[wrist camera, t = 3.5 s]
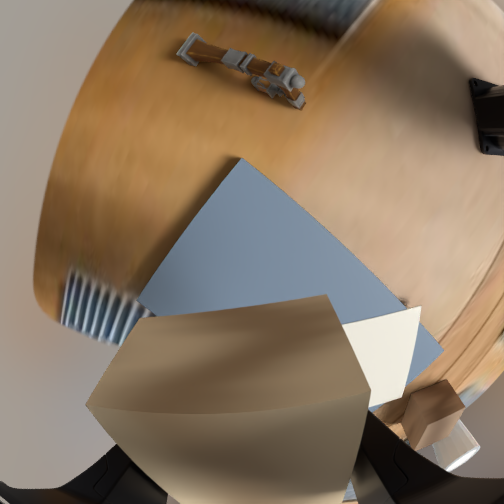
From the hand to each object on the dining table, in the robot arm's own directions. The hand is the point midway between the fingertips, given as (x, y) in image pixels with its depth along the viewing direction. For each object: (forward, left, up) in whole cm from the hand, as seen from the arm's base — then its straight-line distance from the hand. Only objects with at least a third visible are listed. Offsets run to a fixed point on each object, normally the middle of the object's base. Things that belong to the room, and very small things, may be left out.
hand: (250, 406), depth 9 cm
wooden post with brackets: (-2, -14, -11) cm, 18 cm away
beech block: (0, 0, 0) cm, 0 cm away
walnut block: (-17, +19, -10) cm, 28 cm away
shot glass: (-25, +31, -10) cm, 41 cm away
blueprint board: (-4, +4, -10) cm, 12 cm away
